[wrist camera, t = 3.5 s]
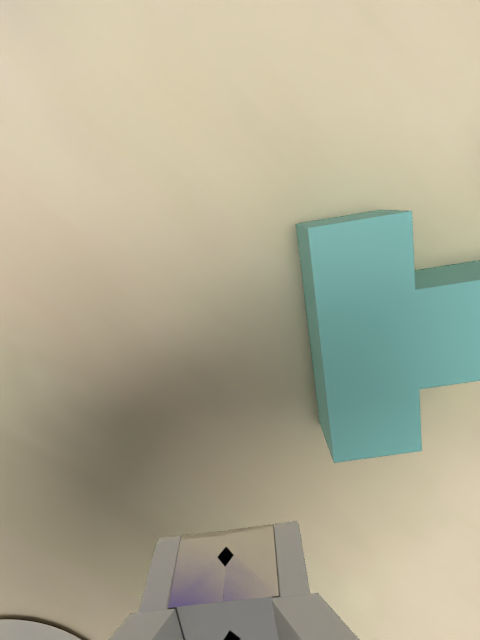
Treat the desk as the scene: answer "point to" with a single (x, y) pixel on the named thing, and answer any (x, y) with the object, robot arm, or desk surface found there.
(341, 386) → the t block
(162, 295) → the desk surface
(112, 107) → the desk surface
